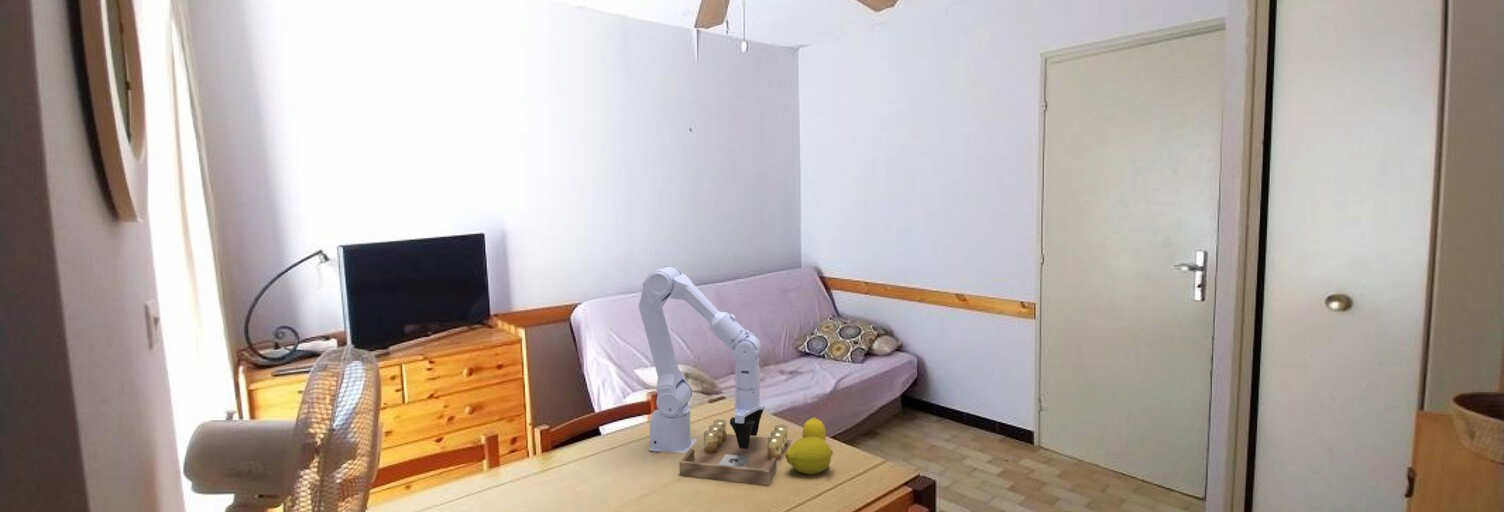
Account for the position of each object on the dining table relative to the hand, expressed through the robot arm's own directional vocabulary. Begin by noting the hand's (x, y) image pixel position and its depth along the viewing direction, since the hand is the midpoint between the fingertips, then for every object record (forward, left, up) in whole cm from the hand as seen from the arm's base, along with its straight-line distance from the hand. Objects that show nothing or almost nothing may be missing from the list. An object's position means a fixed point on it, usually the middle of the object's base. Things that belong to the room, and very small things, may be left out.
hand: (748, 441), depth 149 cm
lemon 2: (+16, -7, -3) cm, 18 cm away
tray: (-1, -4, -3) cm, 5 cm away
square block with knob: (0, -12, -2) cm, 12 cm away
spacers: (-1, +1, -2) cm, 2 cm away
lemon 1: (+15, +5, -3) cm, 16 cm away
